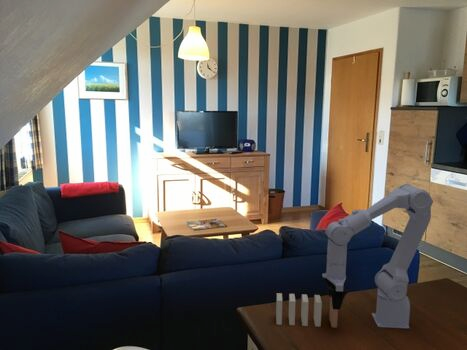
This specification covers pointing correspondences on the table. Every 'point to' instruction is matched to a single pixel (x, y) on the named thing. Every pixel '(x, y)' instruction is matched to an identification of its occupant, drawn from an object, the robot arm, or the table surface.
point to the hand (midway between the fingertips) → (334, 302)
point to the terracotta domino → (333, 315)
